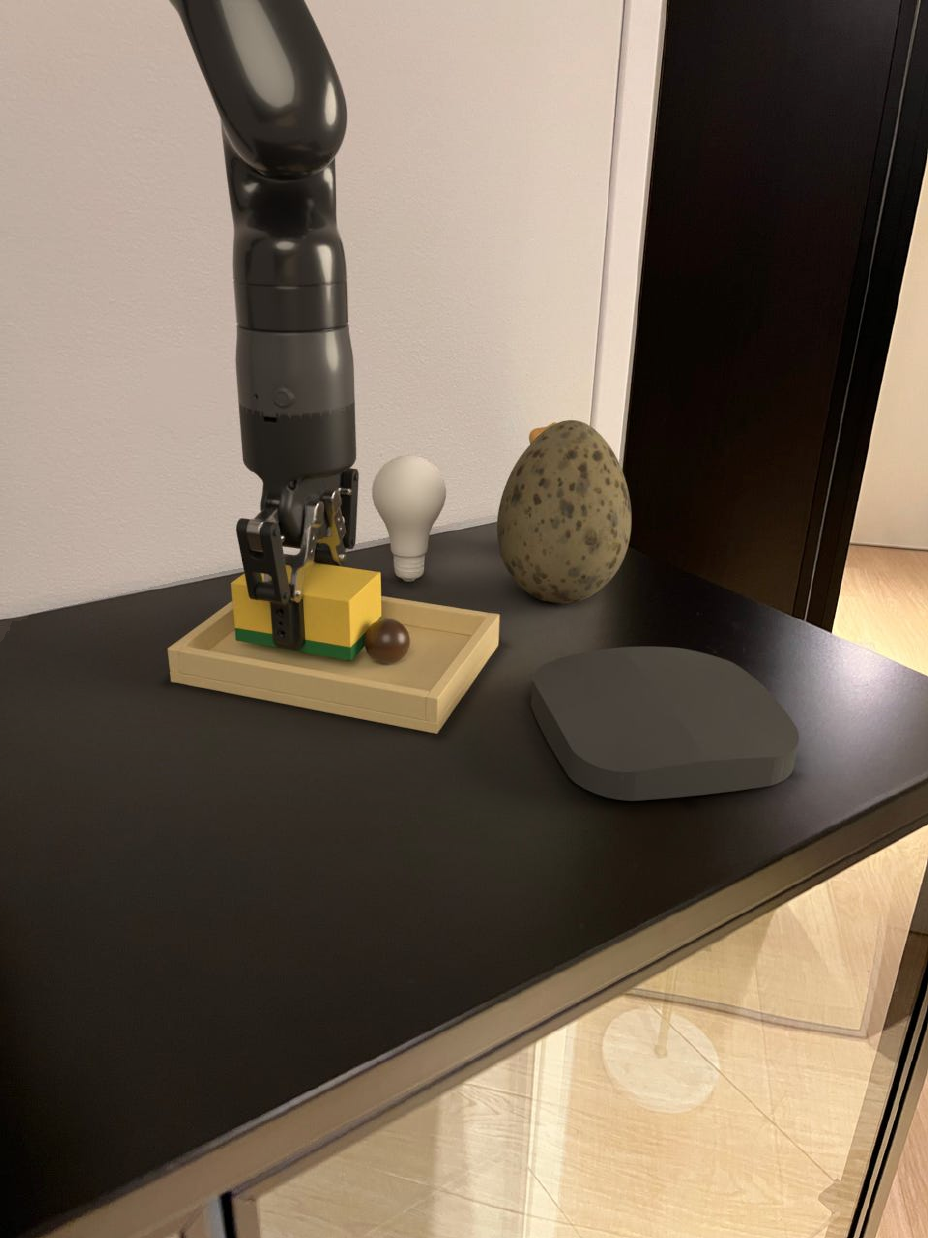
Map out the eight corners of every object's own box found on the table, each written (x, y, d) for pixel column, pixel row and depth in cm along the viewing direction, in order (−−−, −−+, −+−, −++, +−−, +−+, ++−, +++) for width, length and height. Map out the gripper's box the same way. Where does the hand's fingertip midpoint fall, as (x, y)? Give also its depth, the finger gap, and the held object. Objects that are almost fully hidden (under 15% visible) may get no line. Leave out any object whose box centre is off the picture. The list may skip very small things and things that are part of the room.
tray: (170, 682, 70) (166, 648, 69) (266, 606, 82) (264, 576, 81) (437, 734, 65) (437, 698, 64) (498, 645, 77) (499, 614, 75)
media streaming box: (582, 814, 57) (586, 769, 56) (516, 690, 70) (518, 651, 69) (817, 788, 60) (826, 744, 59) (713, 673, 73) (718, 636, 72)
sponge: (235, 640, 72) (230, 582, 70) (272, 610, 77) (268, 555, 75) (351, 661, 70) (349, 601, 68) (382, 628, 75) (381, 571, 73)
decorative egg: (644, 620, 81) (663, 435, 75) (514, 631, 79) (523, 441, 73) (597, 570, 91) (611, 402, 84) (480, 578, 88) (485, 406, 82)
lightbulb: (458, 585, 87) (461, 460, 82) (396, 600, 84) (396, 471, 79) (420, 562, 91) (421, 442, 87) (360, 576, 88) (358, 452, 84)
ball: (356, 666, 71) (357, 625, 70) (374, 647, 74) (375, 607, 73) (399, 675, 70) (400, 634, 69) (415, 655, 73) (417, 615, 72)
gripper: (295, 370, 73) (306, 585, 81) (185, 414, 61) (210, 664, 68) (391, 378, 71) (394, 598, 78) (298, 426, 59) (312, 682, 66)
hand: (308, 628), depth 73 cm, fingers closed on sponge, 5 cm apart
